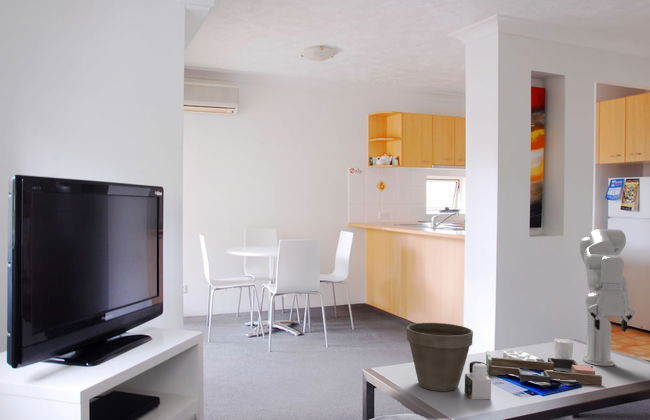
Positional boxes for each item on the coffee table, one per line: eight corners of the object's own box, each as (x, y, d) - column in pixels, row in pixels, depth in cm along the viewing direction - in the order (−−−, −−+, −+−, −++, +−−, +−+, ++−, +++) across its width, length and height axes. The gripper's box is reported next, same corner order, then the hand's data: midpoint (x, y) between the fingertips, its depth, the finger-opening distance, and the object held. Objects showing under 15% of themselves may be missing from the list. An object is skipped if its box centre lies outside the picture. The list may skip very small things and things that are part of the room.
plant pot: (415, 371, 211) (416, 318, 211) (477, 381, 200) (478, 325, 201) (396, 389, 189) (398, 330, 189) (464, 401, 178) (466, 339, 178)
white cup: (575, 366, 225) (575, 343, 225) (555, 364, 226) (556, 342, 226) (570, 361, 232) (570, 339, 233) (551, 359, 234) (552, 337, 234)
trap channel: (484, 360, 230) (485, 346, 231) (586, 369, 221) (587, 355, 221) (489, 380, 202) (490, 365, 202) (607, 391, 192) (607, 375, 192)
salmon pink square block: (571, 375, 211) (571, 364, 212) (589, 377, 210) (589, 366, 210) (576, 380, 205) (576, 369, 205) (595, 382, 203) (595, 371, 203)
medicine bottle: (464, 392, 187) (465, 359, 187) (483, 392, 187) (484, 360, 187) (471, 399, 180) (472, 365, 180) (491, 399, 180) (491, 365, 180)
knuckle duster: (550, 367, 223) (523, 370, 218) (521, 356, 240) (495, 358, 235) (550, 359, 223) (523, 362, 218) (521, 349, 240) (495, 351, 235)
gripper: (590, 287, 204) (589, 330, 204) (638, 289, 200) (637, 334, 199) (585, 284, 211) (584, 326, 211) (632, 287, 207) (631, 329, 207)
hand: (610, 330), depth 205 cm, fingers open, 9 cm apart
